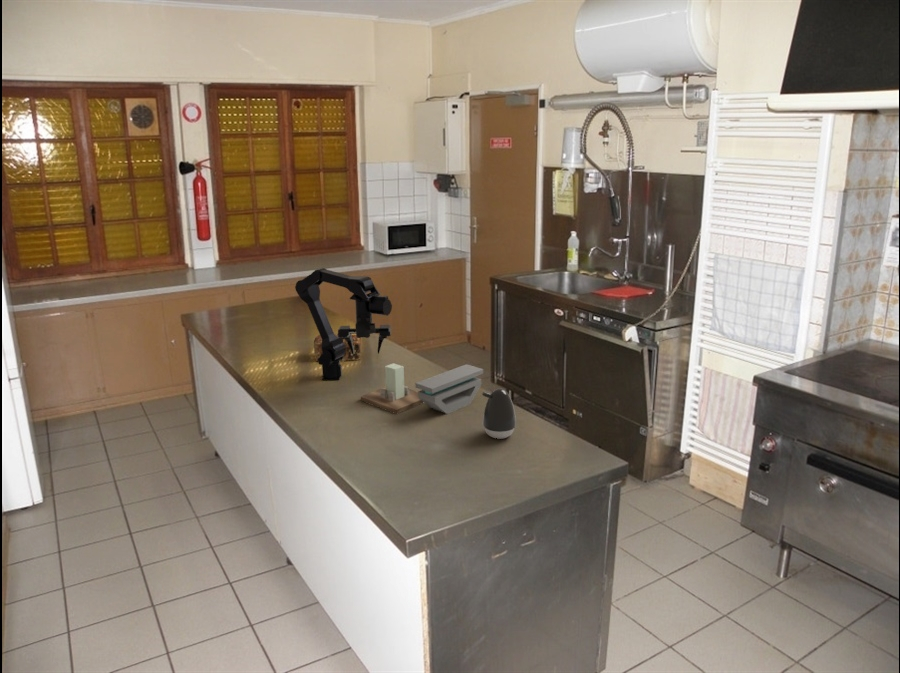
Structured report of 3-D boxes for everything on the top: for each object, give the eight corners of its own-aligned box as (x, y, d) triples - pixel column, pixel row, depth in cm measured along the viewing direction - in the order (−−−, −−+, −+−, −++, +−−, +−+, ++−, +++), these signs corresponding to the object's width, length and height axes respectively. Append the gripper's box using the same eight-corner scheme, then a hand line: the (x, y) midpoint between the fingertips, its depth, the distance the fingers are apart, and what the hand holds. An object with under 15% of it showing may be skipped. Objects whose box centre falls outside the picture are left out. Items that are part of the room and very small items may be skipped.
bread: (314, 363, 280) (312, 339, 277) (317, 354, 290) (315, 331, 287) (360, 361, 282) (359, 337, 279) (361, 353, 292) (360, 330, 289)
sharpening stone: (432, 420, 225) (432, 388, 222) (416, 413, 230) (415, 383, 227) (483, 398, 242) (483, 369, 239) (466, 393, 248) (466, 364, 244)
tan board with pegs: (396, 414, 230) (396, 401, 229) (360, 400, 241) (360, 388, 240) (429, 400, 241) (429, 387, 240) (393, 387, 253) (393, 376, 251)
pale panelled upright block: (393, 392, 244) (392, 362, 241) (404, 396, 241) (403, 366, 237) (385, 395, 242) (383, 365, 238) (396, 399, 238) (395, 369, 235)
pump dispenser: (479, 429, 218) (480, 383, 214) (512, 427, 219) (513, 382, 215) (484, 443, 209) (484, 396, 204) (518, 441, 209) (519, 394, 205)
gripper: (334, 318, 240) (337, 361, 245) (388, 317, 241) (390, 360, 245) (338, 310, 251) (341, 351, 255) (390, 309, 251) (391, 350, 256)
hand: (365, 353), depth 253 cm, fingers open, 9 cm apart
